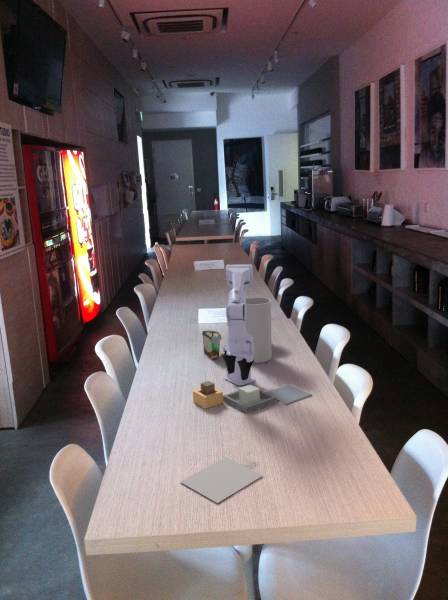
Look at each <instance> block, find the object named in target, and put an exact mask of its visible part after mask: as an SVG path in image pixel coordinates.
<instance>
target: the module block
mask: <svg viewBox="0 0 448 600" xmlns="http://www.w3.org/2000/svg"><path fill="white" fill-rule="evenodd" d="M260 390H261V389H260V388H258V387H257V386H254V385H252V384H247V385H245V386H242V387H241V386H240V388H238V391H239V397H238V402H240V403H242V404H244V405H246V406H248V405H251V404H254V403H257V402H260V401H261V400H260V398H261V397H260Z"/></svg>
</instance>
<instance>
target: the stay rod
mask: <svg viewBox="0 0 448 600" xmlns="http://www.w3.org/2000/svg"><path fill="white" fill-rule="evenodd" d="M215 388H216V387H215V383H214V382H212V381H210V380H206V381H203V382H200V389H201V393H202V394H204V395H209V394H213V393H215Z"/></svg>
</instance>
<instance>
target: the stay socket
mask: <svg viewBox="0 0 448 600" xmlns="http://www.w3.org/2000/svg"><path fill="white" fill-rule="evenodd" d="M223 395H224V392H223V391H221V390H220V389H218V388H216V387H215V393H213V394H209V395H204V394H202V393H201V388H198V389H195V390H193V391H192V401H193V403H195V404H196V405H199V406H200V407H202V408H203V409H209V408H211V407H215V406H218V405H220V404H223V403H224V401H223Z"/></svg>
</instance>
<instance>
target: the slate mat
mask: <svg viewBox="0 0 448 600" xmlns="http://www.w3.org/2000/svg"><path fill="white" fill-rule="evenodd" d="M265 392H266V393H268V394H270V395H272V396H275V397H276V402H277V401H278V402H280V403H282V404H284V405H289V404H292V403H295V402H297V401H301V400H303V399H305V398H308V397H312V393H309V392H307V391H305V390H302V389H299V388H298V387H295V386H293V385H290V384H285V385H283V386H280V387H277V388H274V389H271V390H268V391H265Z"/></svg>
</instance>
